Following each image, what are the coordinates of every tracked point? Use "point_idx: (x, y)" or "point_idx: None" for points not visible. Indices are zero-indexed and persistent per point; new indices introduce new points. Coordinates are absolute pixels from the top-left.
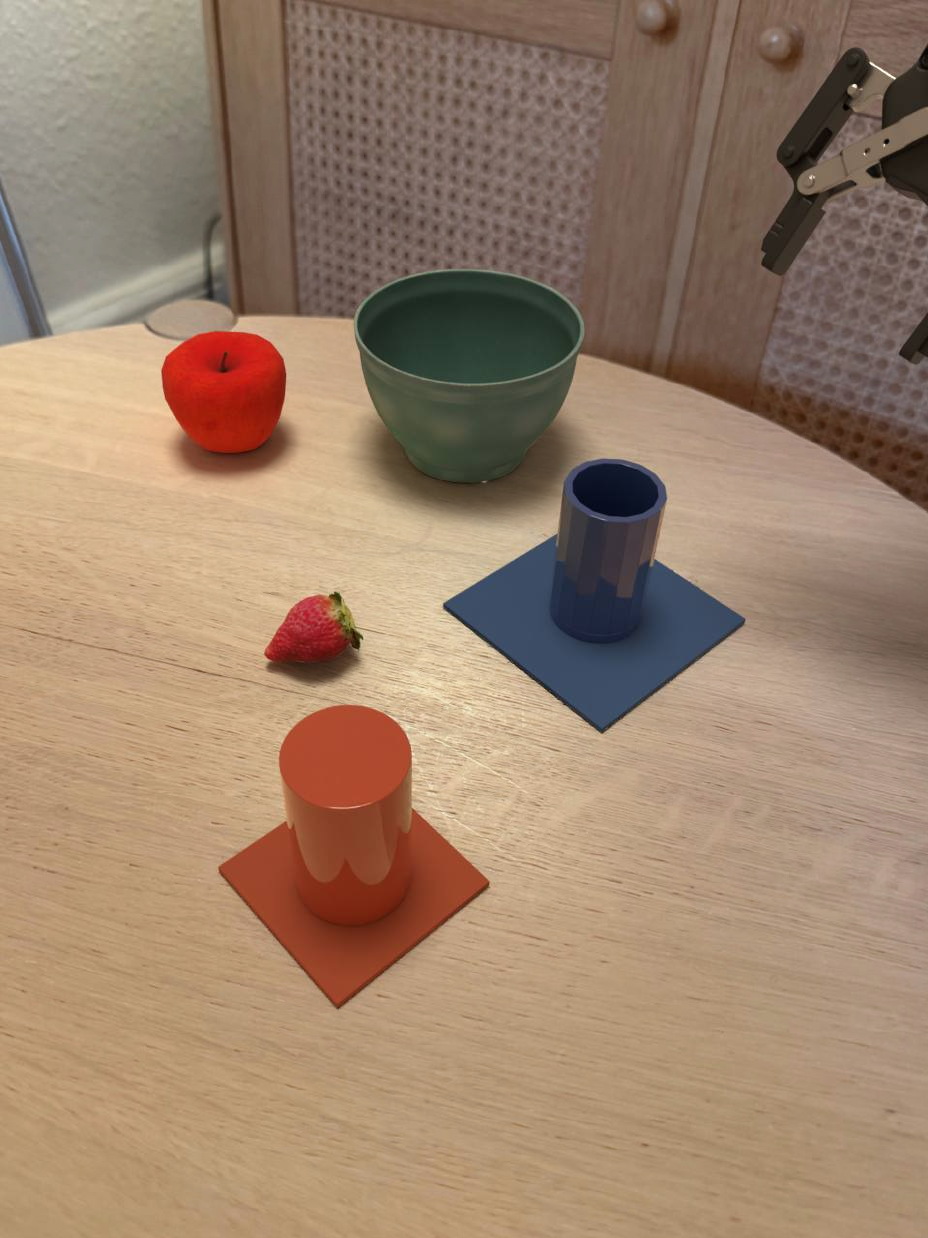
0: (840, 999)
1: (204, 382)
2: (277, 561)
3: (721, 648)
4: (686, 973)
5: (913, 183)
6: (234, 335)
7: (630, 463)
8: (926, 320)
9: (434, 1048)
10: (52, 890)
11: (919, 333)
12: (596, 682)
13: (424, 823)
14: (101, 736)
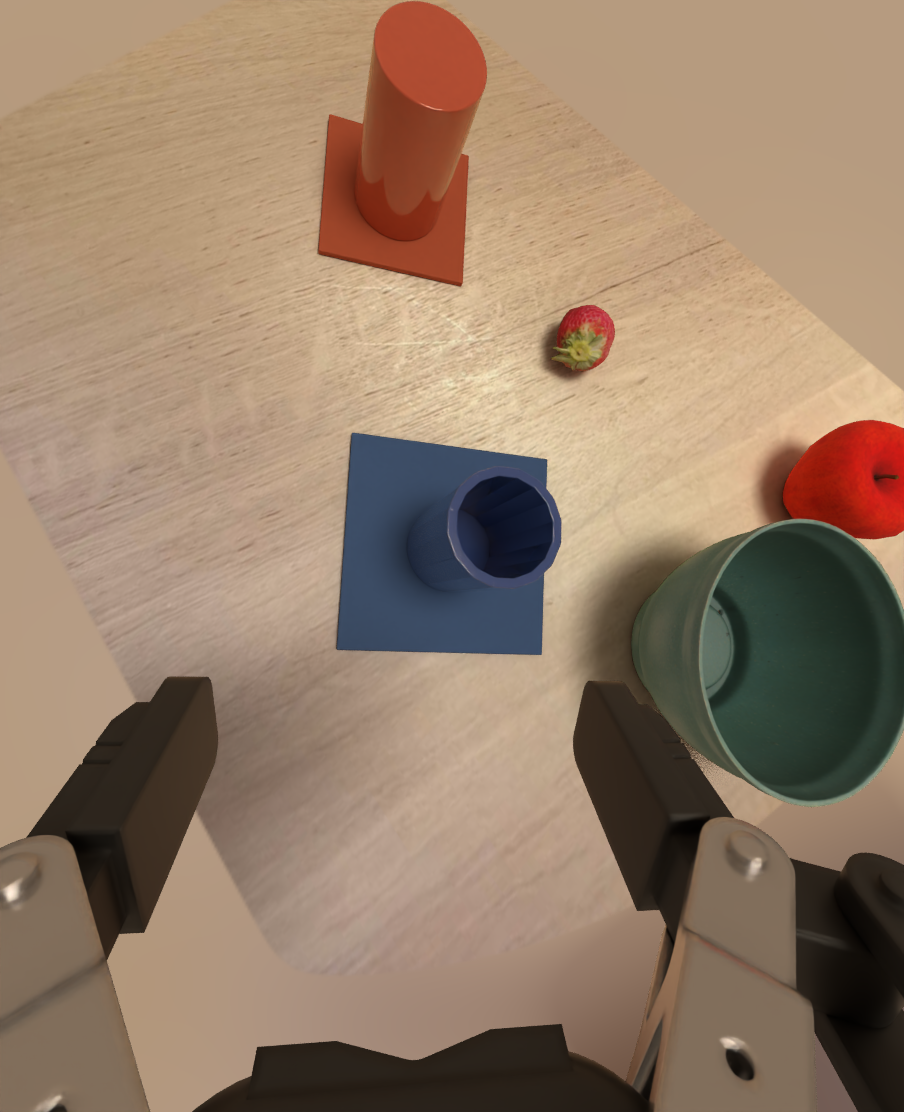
0: (19, 328)
1: (870, 434)
2: (667, 410)
3: (333, 601)
4: (144, 275)
5: (450, 1096)
6: None
7: (525, 581)
8: (159, 736)
9: (257, 128)
10: (527, 96)
11: (167, 708)
12: (390, 473)
13: (392, 263)
14: (608, 202)
